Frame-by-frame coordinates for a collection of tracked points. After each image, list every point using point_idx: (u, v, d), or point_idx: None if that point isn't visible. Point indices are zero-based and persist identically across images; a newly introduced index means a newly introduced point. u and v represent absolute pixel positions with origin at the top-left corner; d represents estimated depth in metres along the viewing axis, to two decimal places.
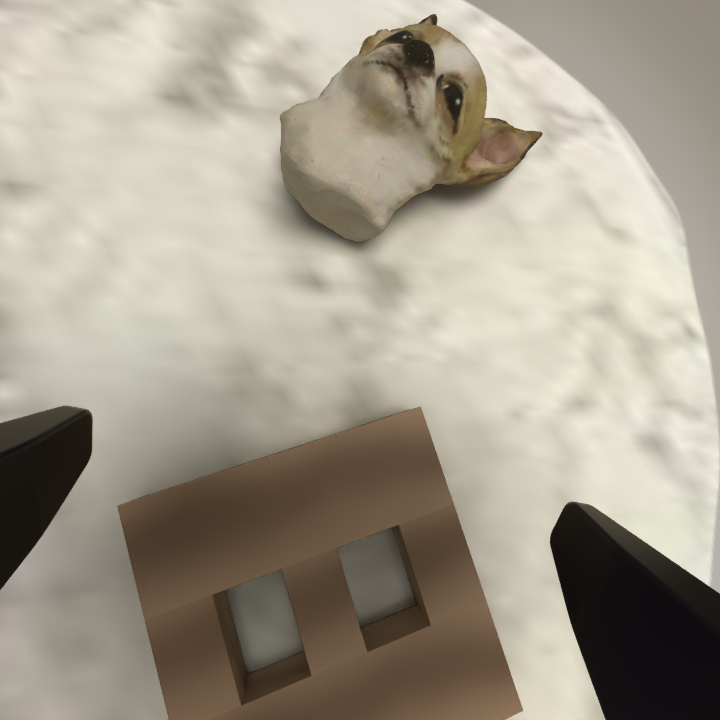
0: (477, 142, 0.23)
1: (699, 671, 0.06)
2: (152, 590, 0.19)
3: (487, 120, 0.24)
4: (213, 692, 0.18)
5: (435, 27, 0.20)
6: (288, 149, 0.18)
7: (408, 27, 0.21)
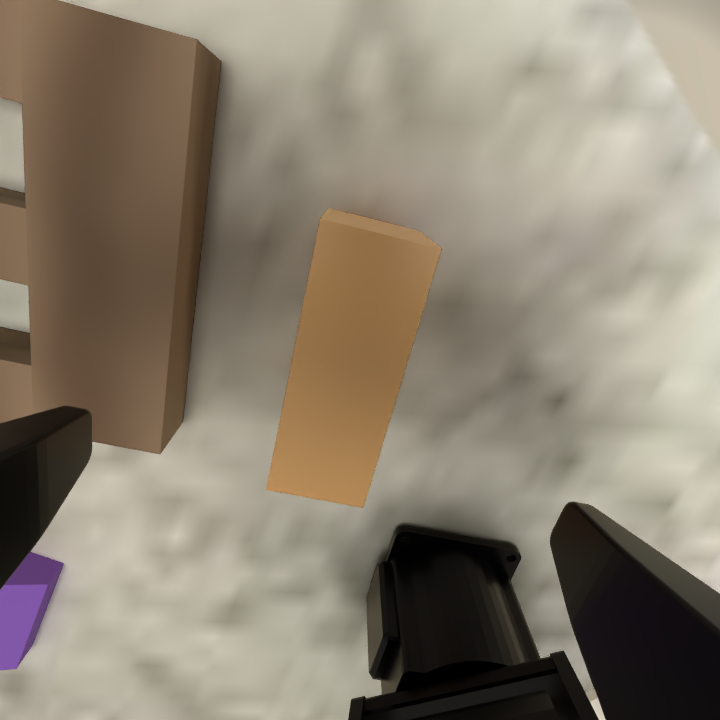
0: None
1: (699, 671, 0.06)
2: None
3: None
4: (6, 382, 0.16)
5: None
6: None
7: None
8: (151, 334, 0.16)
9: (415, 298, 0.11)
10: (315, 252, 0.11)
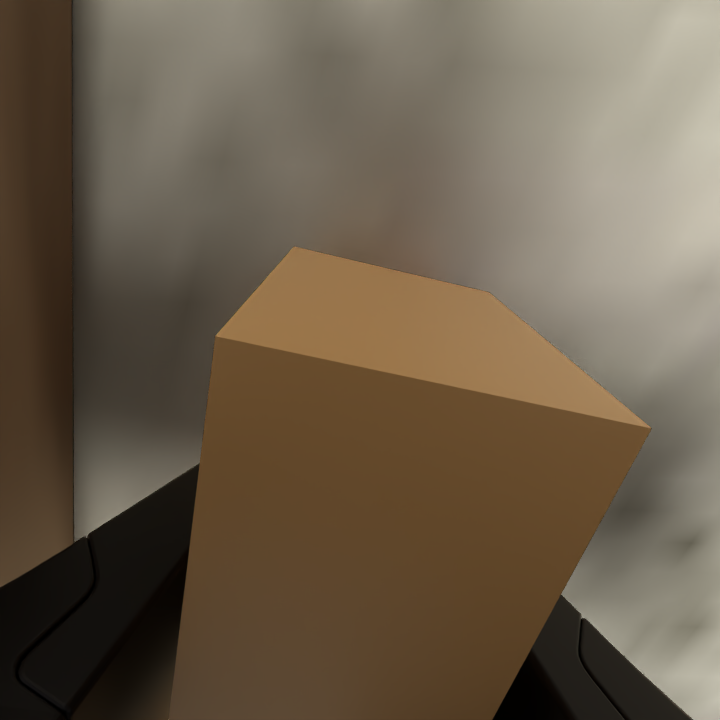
0: None
1: None
2: None
3: None
4: None
5: None
6: None
7: None
8: None
9: (542, 565, 0.04)
10: (209, 445, 0.03)
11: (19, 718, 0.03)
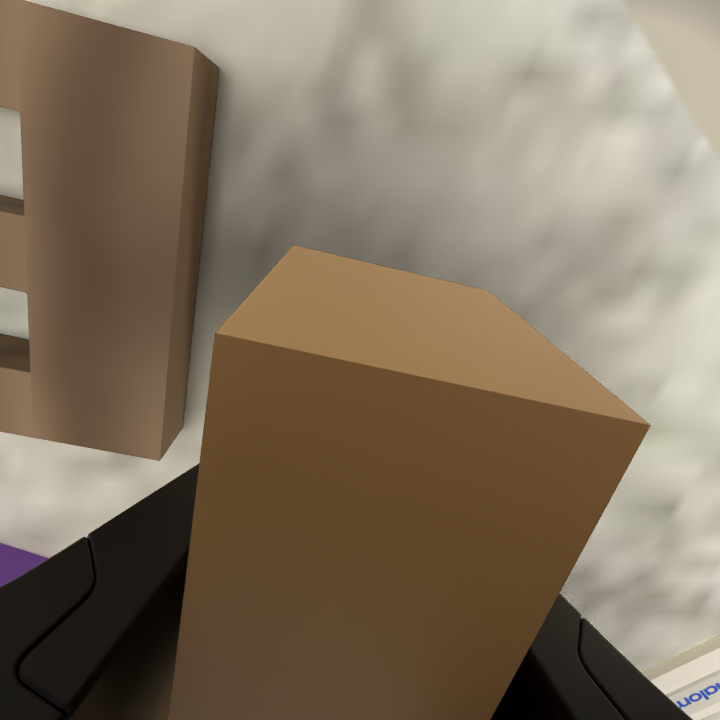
0: None
1: None
2: None
3: None
4: (6, 389, 0.16)
5: None
6: None
7: None
8: (149, 341, 0.16)
9: (542, 562, 0.04)
10: (209, 442, 0.03)
11: (19, 717, 0.03)
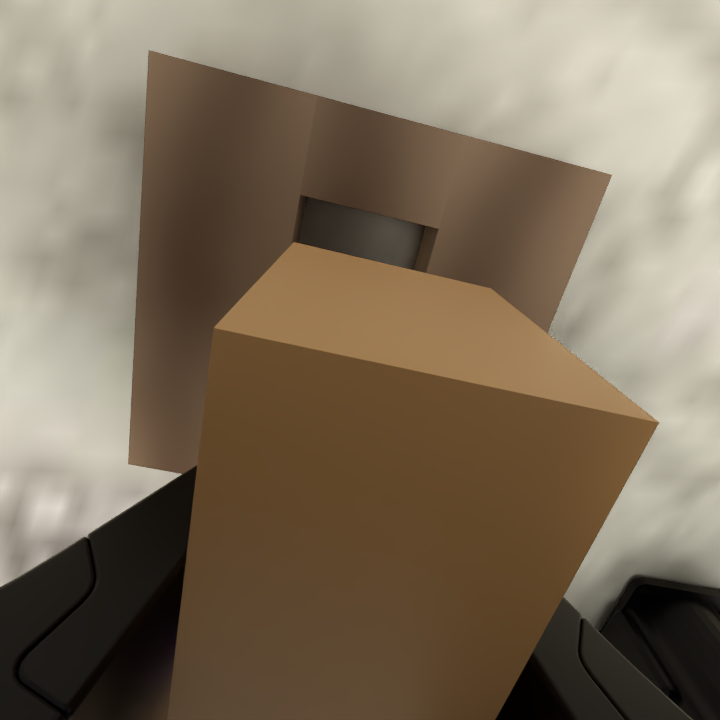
0: None
1: None
2: None
3: None
4: None
5: None
6: None
7: None
8: None
9: (547, 563, 0.03)
10: (208, 440, 0.03)
11: (19, 717, 0.03)
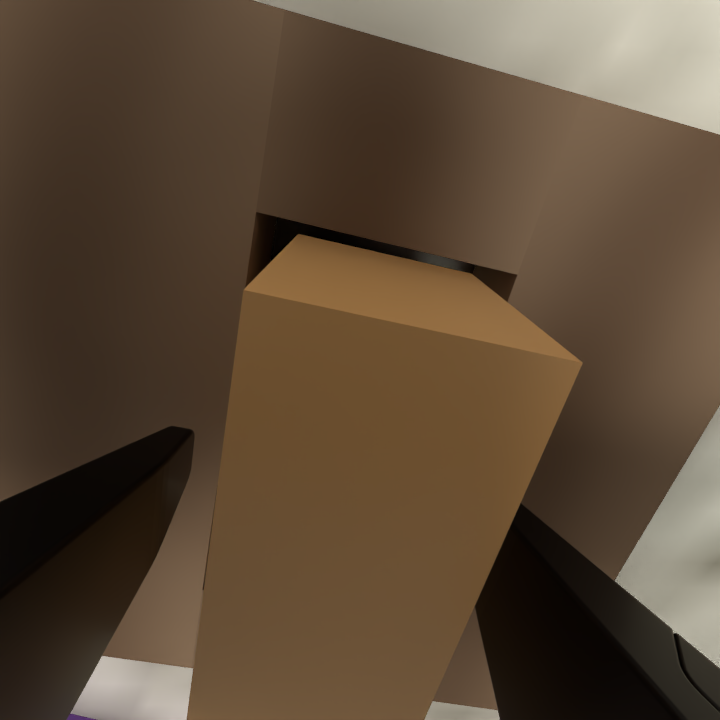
0: None
1: (569, 651, 0.05)
2: (152, 647, 0.11)
3: None
4: None
5: None
6: None
7: None
8: None
9: (503, 479, 0.04)
10: (237, 378, 0.04)
11: None
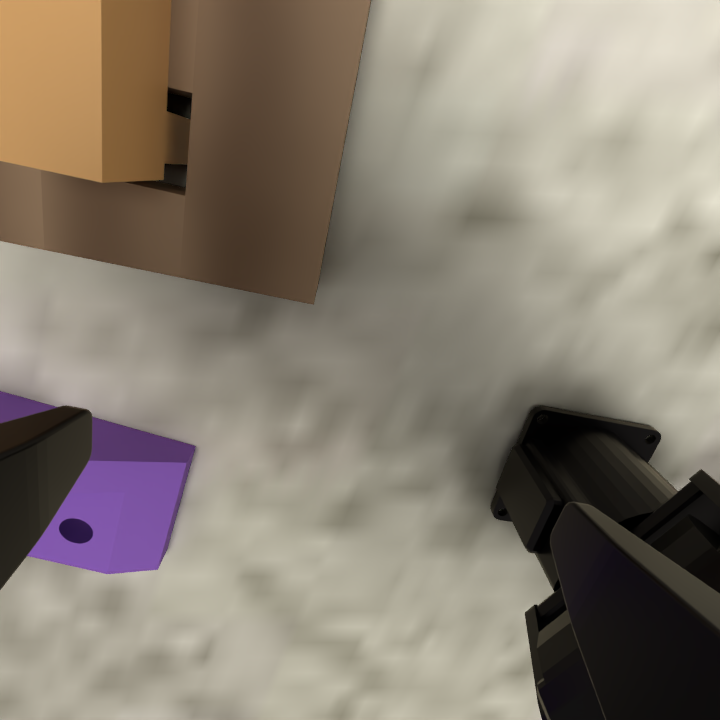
0: None
1: (699, 671, 0.06)
2: (12, 227, 0.15)
3: None
4: (156, 217, 0.15)
5: None
6: None
7: None
8: (319, 154, 0.14)
9: None
10: None
11: None
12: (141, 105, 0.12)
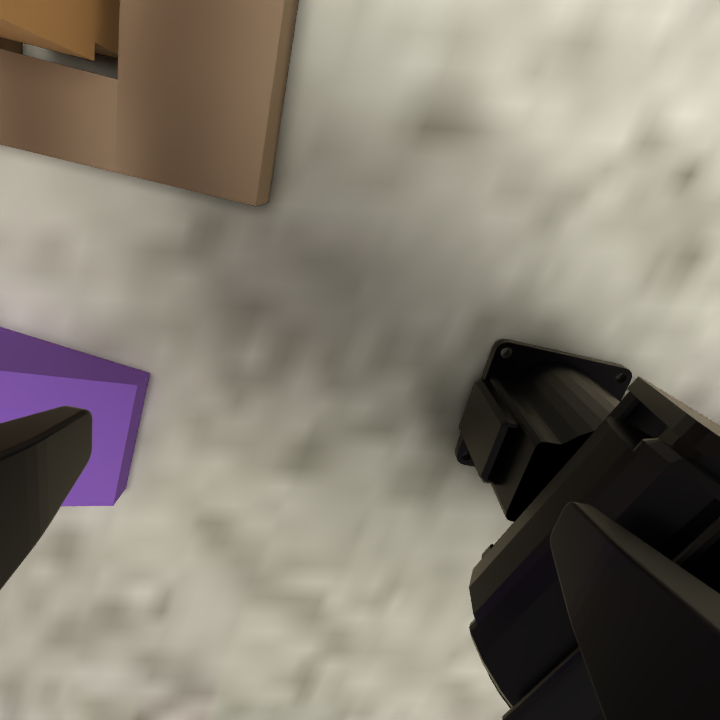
0: None
1: (699, 671, 0.06)
2: None
3: None
4: (88, 103, 0.14)
5: None
6: None
7: None
8: (256, 35, 0.14)
9: None
10: None
11: None
12: None
